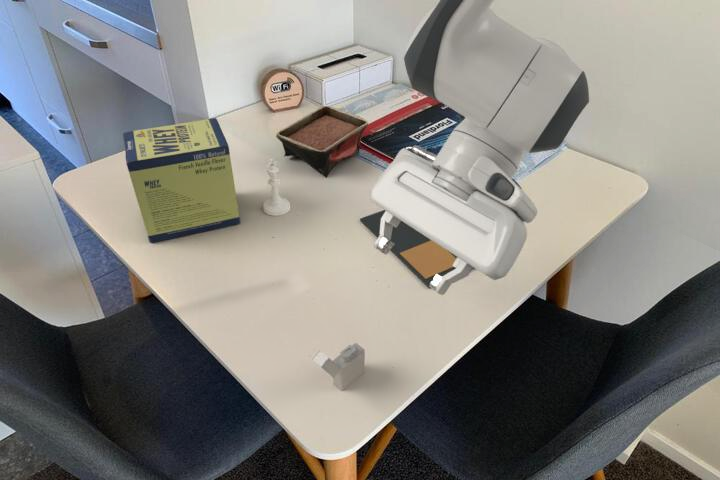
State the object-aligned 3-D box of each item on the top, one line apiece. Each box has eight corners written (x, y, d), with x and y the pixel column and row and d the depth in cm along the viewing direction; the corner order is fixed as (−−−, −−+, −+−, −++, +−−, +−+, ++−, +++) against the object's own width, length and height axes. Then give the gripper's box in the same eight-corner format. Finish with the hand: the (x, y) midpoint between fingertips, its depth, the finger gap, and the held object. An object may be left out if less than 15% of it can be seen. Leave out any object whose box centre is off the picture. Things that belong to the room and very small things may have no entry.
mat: (506, 253, 86) (507, 250, 85) (428, 288, 79) (429, 285, 78) (432, 194, 99) (432, 191, 98) (360, 220, 92) (360, 217, 92)
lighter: (355, 364, 68) (355, 322, 63) (365, 371, 67) (366, 330, 62) (314, 397, 64) (311, 355, 59) (324, 406, 63) (321, 364, 58)
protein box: (242, 223, 91) (229, 144, 81) (149, 244, 86) (123, 162, 76) (230, 192, 99) (217, 116, 89) (143, 210, 94) (119, 131, 84)
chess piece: (261, 202, 96) (255, 154, 90) (288, 198, 97) (284, 151, 91) (264, 217, 93) (258, 168, 86) (292, 213, 93) (288, 165, 87)
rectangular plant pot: (373, 162, 112) (376, 116, 107) (317, 186, 99) (317, 135, 94) (323, 146, 119) (324, 102, 114) (265, 166, 107) (263, 118, 102)
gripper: (396, 129, 65) (336, 222, 66) (536, 200, 53) (461, 313, 54) (418, 149, 70) (362, 236, 71) (550, 218, 58) (481, 321, 59)
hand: (406, 270), depth 63 cm, fingers open, 8 cm apart
